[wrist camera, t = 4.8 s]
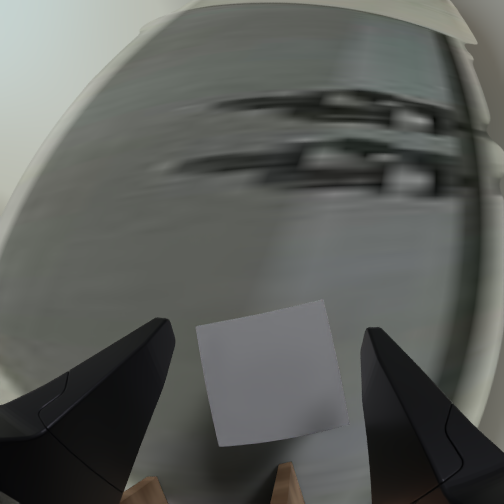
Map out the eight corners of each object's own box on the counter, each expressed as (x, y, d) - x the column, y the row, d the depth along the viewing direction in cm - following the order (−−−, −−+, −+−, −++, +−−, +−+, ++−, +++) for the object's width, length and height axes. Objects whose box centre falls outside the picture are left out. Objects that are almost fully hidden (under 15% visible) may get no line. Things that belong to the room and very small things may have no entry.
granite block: (328, 393, 16) (349, 424, 9) (251, 408, 17) (218, 446, 9) (312, 320, 18) (323, 298, 10) (237, 336, 18) (195, 326, 11)
